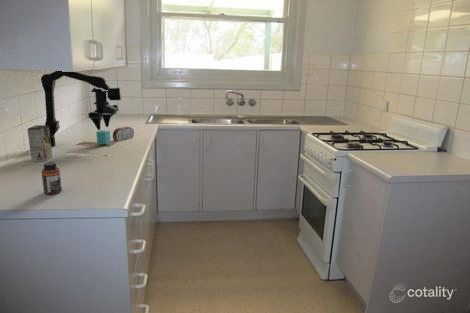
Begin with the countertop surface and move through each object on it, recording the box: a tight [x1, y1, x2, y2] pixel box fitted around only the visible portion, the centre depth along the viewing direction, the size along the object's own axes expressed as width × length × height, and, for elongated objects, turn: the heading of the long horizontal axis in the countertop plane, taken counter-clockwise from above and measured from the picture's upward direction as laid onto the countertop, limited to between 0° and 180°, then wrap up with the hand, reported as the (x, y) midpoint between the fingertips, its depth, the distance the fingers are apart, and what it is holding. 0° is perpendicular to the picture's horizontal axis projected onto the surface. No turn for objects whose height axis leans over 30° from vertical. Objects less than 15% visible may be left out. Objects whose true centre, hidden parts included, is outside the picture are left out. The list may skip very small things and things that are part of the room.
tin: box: [112, 126, 135, 142], centre depth 219 cm, size 15×3×8 cm, turn 150°
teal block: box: [96, 129, 111, 144], centre depth 203 cm, size 5×5×7 cm
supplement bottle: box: [41, 161, 63, 196], centre depth 133 cm, size 6×6×11 cm
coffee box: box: [27, 124, 53, 162], centre depth 175 cm, size 9×6×16 cm
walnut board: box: [75, 141, 116, 148], centre depth 205 cm, size 9×20×1 cm, turn 82°
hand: (103, 128), depth 202 cm, fingers open, 9 cm apart
